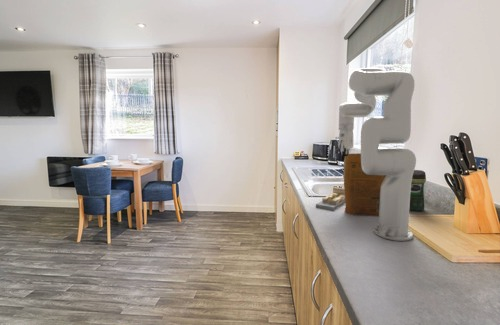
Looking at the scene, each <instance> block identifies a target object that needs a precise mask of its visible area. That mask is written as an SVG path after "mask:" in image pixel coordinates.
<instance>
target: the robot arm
mask: <svg viewBox="0 0 500 325" xmlns="http://www.w3.org/2000/svg"><path fill="white" fill-rule="evenodd" d="M347 83H348V88H349V89H350V90H351V91H352V92H353V94H354V98H355V99H356V100H357V101H353V102H352V101H351V102H348V101H347V102H344V103H341V104H340V105H339V108H338V110H339V111H338V131H339V134H338V148H339V149H340V150H339V151H340V153H341V162H344V158H345V156H348V154H350V150H351V149H352V148H354V128H355V127H354V126H355V125H354V124H355V118H366V117H368V116H370V115H371V114H372V113H373V112H374V111H375V109H376V104H377V99H376V97H378V96H382V97H383V96H387V98H386V99H385V100H384V102H383V105H382V116H373V117H368V118H367V119H365V120H364V121H363V124H361V125H362V126H361V130H360V153H361V167H362V170H363V172H364V173H365V174H367V175H387V176H386V177H385V178H384V180H383V181H382V184H381V187H380V205H379V216H378V225H376V226H374V227H373V233H374V234H375V235H377V236H378V237H380V238H383V239H386V240H390V241H398V242H405V241H406V242H407V241H410V240H412V239H413V238H414V233H413V232H412V231H411V230H409V220H410V210H409V207H410V193H411V182H412V176H413V172H414V170H416V164H417V158H416V155H415V153H414V152H413V151H412V150H411V149H409V148H405V147H380V145H397V144H398V145H399V144H404V143H407V142H408V141H409V139H410V138H411V131H412V129H411V128H412V110H411V109H412V106H411V105H412V98H413V95H414V91H415V84H416V83H415V78H414V76H413V75H412V74H411V73H410V72H408V71H401V70H400V71H399V70H398V71H397V70H395V71H394V70H388V71H386V70H384V69H383V68H380V67H363V68H355V69H354V70H352V71H351V72H350V74H349V77H348V81H347Z"/></svg>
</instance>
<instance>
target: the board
mask: <svg viewBox="0 0 500 325" xmlns="http://www.w3.org/2000/svg"><path fill="white" fill-rule="evenodd" d="M332 193H333V192H332ZM333 195H334V198H336V196H337V195H338V194H336V193H333ZM327 196H328V195H327ZM328 198H329V202H327V203H326V202H322V200H321V201H319V202H317V203H316V204H315V207H316V208H318V207H320V208H319V209H323V208H325V209H324V210H328V209H329V210H330V211H335V210H337V209H339V208H340V207H342V206H344V205H345V199H344V200H342V201H341V202H339V203H337V204H331V202H332V198H333V196H328ZM341 205H342V206H341Z"/></svg>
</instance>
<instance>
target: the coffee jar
mask: <svg viewBox="0 0 500 325" xmlns="http://www.w3.org/2000/svg"><path fill="white" fill-rule="evenodd" d="M426 176H427V175H426V171H424V170H421V169H414V172H413V176H412V182H411V193H410V207H409V211H410V212H411V211H413V212H422V211H424V210H425V193H424V190H425V189H424V187H425V184H426V181H427V178H426Z"/></svg>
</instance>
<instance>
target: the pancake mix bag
mask: <svg viewBox="0 0 500 325" xmlns="http://www.w3.org/2000/svg"><path fill="white" fill-rule="evenodd" d="M342 176H343V177H342V178H343V188H344V192H345V204H344V205H345V208H344V213H345V214H348V215H352V216H372V217H379V205H380V187H381V184H382V181H383V180H384V178H385V177H386V176H387V175H367V174H365V173H364V172H363V170H362V167H361V152H360V153H359V152H358V153H349V154H348V156H345V158H344V161H343V175H342Z"/></svg>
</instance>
